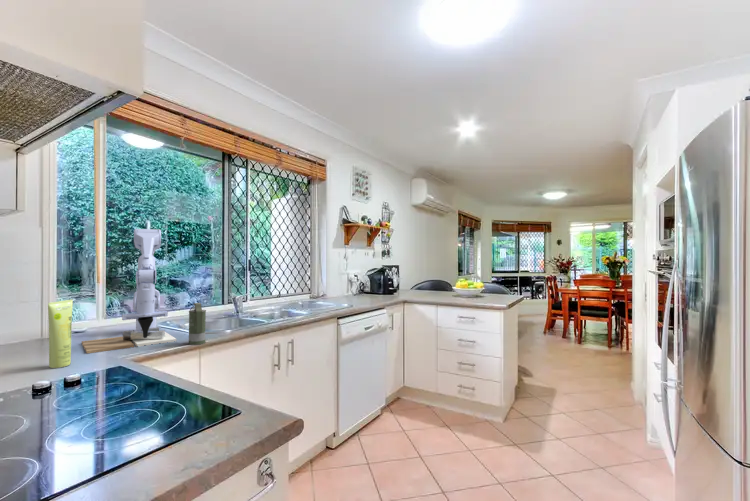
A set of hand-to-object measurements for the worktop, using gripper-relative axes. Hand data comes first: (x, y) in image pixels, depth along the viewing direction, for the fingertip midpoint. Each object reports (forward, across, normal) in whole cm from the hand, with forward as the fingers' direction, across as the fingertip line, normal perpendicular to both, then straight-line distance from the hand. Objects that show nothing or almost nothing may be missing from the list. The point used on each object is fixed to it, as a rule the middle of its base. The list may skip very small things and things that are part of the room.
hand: (145, 337), depth 141 cm
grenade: (+2, +15, -12) cm, 19 cm away
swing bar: (+1, 0, +3) cm, 3 cm away
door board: (+2, +3, +5) cm, 6 cm away
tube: (+3, -25, -16) cm, 30 cm away
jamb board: (+2, -11, +5) cm, 12 cm away
